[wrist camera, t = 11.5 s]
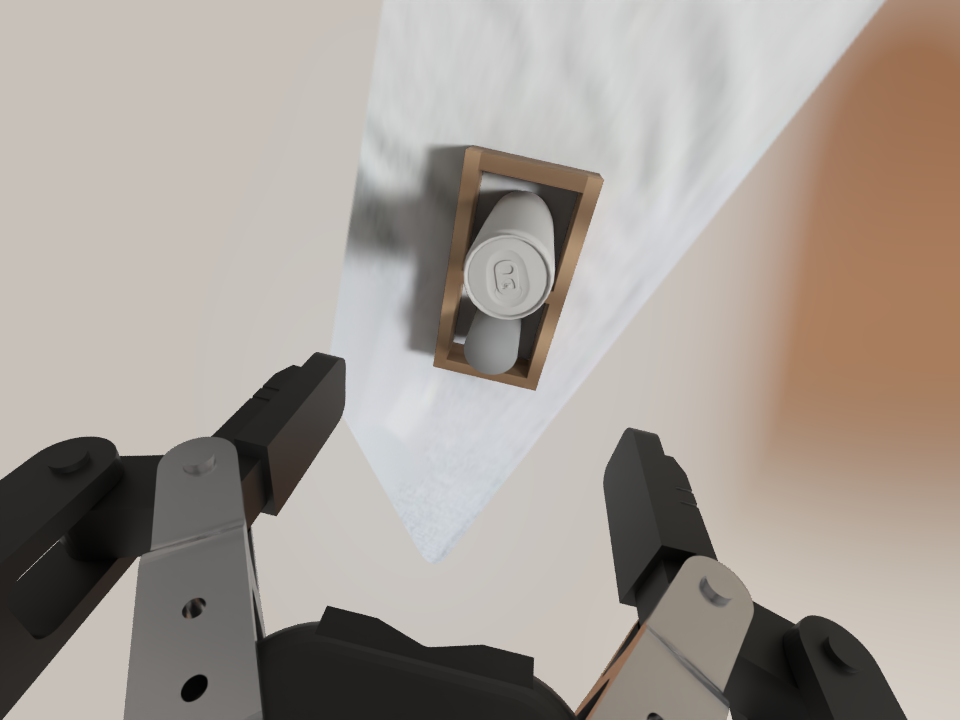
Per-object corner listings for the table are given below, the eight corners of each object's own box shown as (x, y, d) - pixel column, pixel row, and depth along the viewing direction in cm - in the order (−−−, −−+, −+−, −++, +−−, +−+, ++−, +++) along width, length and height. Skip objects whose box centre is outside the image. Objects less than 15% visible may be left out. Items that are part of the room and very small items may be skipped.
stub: (480, 290, 35) (468, 322, 29) (527, 301, 34) (523, 335, 29) (472, 331, 37) (459, 367, 32) (516, 342, 37) (510, 379, 32)
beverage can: (493, 257, 33) (468, 325, 23) (485, 193, 30) (452, 237, 20) (555, 251, 32) (557, 319, 22) (551, 184, 30) (552, 226, 19)
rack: (472, 145, 29) (465, 149, 26) (599, 173, 29) (603, 180, 26) (440, 349, 38) (433, 366, 35) (536, 371, 38) (535, 390, 35)
